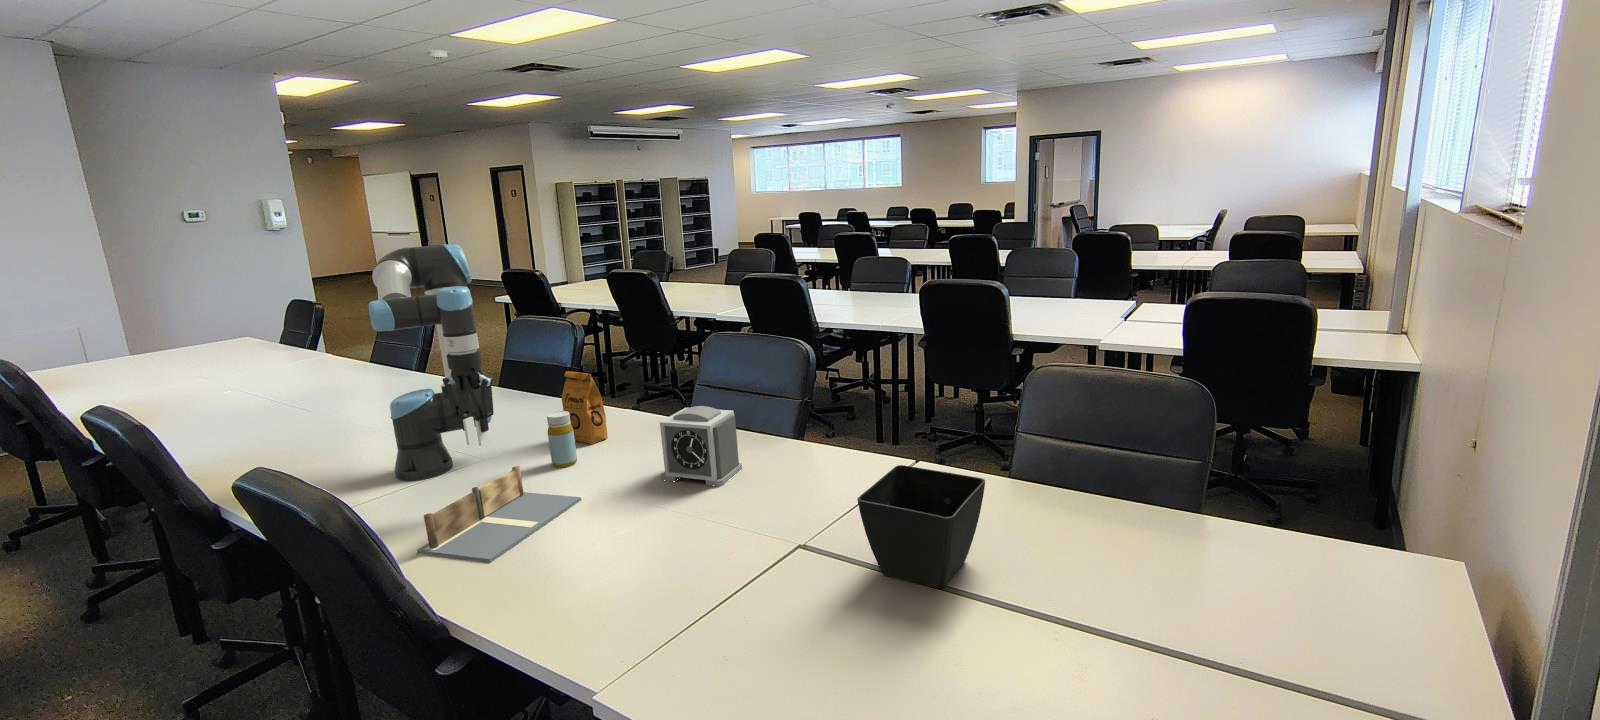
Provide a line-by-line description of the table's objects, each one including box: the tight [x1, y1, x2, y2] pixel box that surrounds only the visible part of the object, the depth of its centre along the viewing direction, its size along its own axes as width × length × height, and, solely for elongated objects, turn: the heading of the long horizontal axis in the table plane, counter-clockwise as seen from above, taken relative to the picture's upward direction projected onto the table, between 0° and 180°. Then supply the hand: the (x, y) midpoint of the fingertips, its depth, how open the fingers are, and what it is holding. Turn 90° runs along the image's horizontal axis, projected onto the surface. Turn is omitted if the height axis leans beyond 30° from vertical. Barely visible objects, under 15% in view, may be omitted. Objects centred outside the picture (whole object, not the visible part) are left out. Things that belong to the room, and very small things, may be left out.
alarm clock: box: [659, 405, 743, 487], centre depth 201 cm, size 18×13×18 cm
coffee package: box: [560, 370, 609, 445], centre depth 236 cm, size 10×12×22 cm
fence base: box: [423, 486, 483, 549], centre depth 173 cm, size 16×2×8 cm, turn 161°
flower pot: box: [857, 464, 986, 590], centre depth 145 cm, size 19×19×17 cm
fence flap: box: [478, 465, 524, 517], centre depth 187 cm, size 14×2×7 cm, turn 161°
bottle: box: [546, 410, 578, 468], centre depth 216 cm, size 7×7×15 cm
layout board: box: [416, 491, 582, 564], centre depth 179 cm, size 33×20×1 cm, turn 161°
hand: (478, 443), depth 187 cm, fingers open, 3 cm apart
